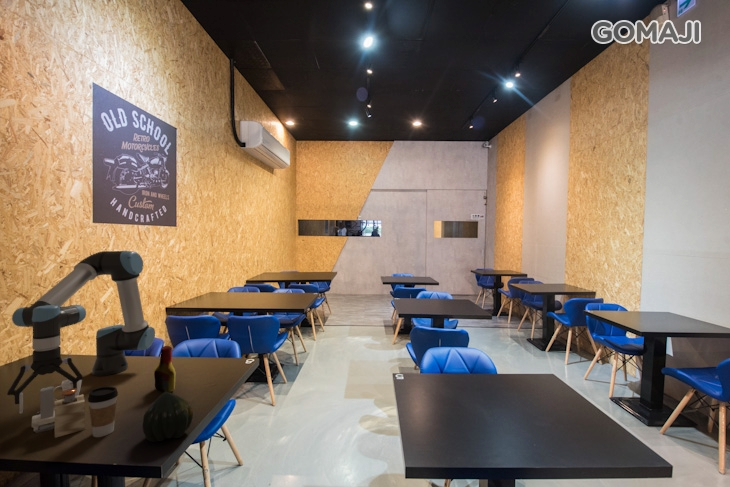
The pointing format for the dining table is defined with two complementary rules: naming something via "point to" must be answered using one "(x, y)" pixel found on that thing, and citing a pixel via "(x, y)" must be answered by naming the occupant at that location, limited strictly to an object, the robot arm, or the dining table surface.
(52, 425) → the rail
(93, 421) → the coffee cup
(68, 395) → the button
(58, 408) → the beige box
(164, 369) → the bottle
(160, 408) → the squash
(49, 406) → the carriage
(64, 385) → the cup
